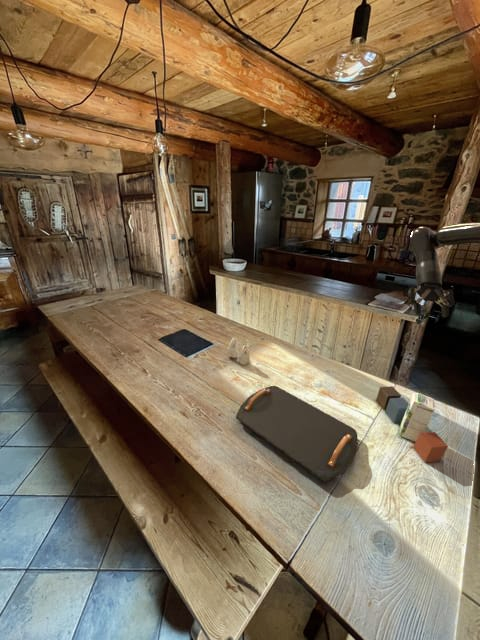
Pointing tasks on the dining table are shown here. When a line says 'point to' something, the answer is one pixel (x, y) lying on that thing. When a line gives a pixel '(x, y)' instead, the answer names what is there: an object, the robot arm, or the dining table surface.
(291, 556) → the dining table surface
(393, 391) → the walnut block
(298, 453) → the serving tray
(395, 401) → the slate blue block
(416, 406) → the syrup box
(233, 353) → the shaker set
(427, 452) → the terracotta block
